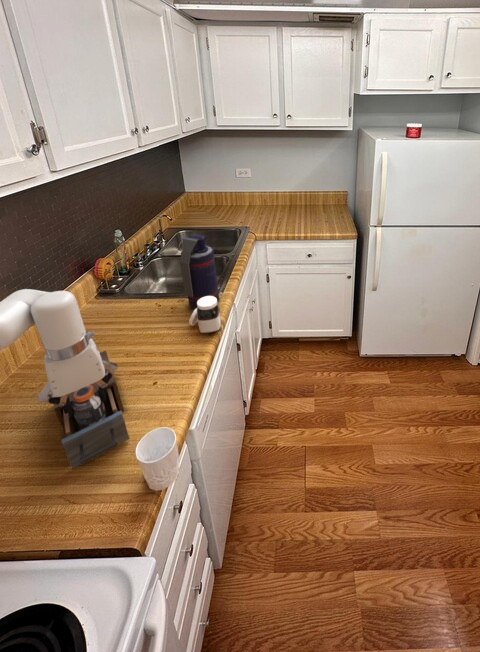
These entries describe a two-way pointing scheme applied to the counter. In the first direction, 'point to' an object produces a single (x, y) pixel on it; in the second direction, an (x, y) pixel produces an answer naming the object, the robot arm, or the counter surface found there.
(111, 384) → the cabinet
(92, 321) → the counter surface
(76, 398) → the pill bottle
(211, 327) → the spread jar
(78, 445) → the drawer
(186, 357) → the counter surface
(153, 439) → the white cup
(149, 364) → the counter surface
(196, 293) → the navy water bottle
